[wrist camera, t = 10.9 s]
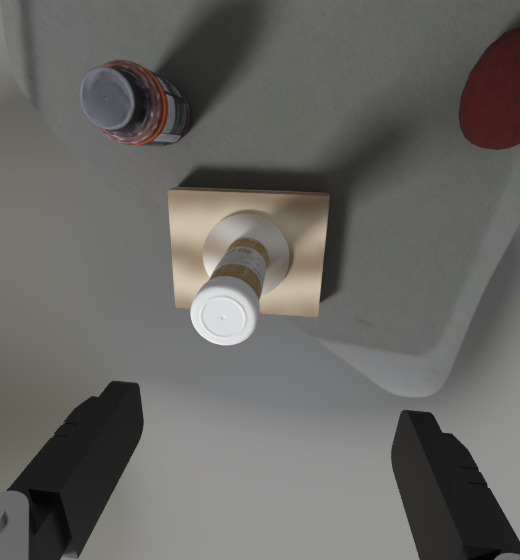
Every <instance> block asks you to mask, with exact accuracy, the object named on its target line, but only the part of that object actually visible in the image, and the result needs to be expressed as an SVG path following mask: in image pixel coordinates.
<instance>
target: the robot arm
mask: <svg viewBox="0 0 520 560" xmlns="http://www.w3.org/2000/svg"><path fill="white" fill-rule="evenodd" d="M143 423H144V420H143V412H142V404H141V395H140V388H139V385H138V384H137V383H133V382H122V381H112V382H110V383H109V385H108V386H107V387H106V388H105V389H104V391H103V392H102V393H101V395H100V396H99V397H95V396H92V397H90V398H89V399H87V400H86V401H85V402H83V403H82V404H80V405H79V406H77V407H76V408H75V409H74V410H73V411H72V413H71V414H70V415H69V416H68V417H67V419H66V420H65V421H64V422H63V425H61V426H60V427H59V428H58V429H57V431H56V432H55V433H54V434H53V438H50V439H49V440H48V442H47V443H46V444H45V445H44V446H43V448H42V449H41V450H40V451H39V453H38V454H37V455H36V456H35V457H34V458H33V460H32V461H31V462H30V463H29V465H28V466H27V467H26V468H25V469H24V471H23V472H22V473H21V474H20V476H19V477H18V478H17V479H16V480H15V481H14V483H13V484H12V485H11V486H10V487H9V488H8V489H7V491H4V492H0V560H60V559H61V557H70V558H77V559H78V558H79V556H80V554H81V552H82V550H83V548H84V546H85V544H86V542H87V540H88V539H89V537H90V535H91V533H92V531H93V529H94V527H95V525H96V523H97V521H98V519H99V517H100V515H101V514H102V512H103V510H104V508H105V506H106V504H107V502H108V500H109V498H110V496H111V494H112V492H113V490H114V488H115V487H116V485H117V483H118V481H119V479H120V477H121V475H122V473H123V471H124V469H125V467H126V466H127V464H128V462H129V460H130V458H131V456H132V454H133V452H134V450H135V448H136V446H137V444H138V442H139V440H140V438H141V435H142V431H143ZM391 461H392V468H393V472H394V475H395V479H396V482H397V485H398V489H399V492H400V495H401V499H402V502H403V505H404V508H405V512H406V515H407V519H408V522H409V525H410V529H411V532H412V535H413V538H414V542H415V545H416V548H417V552H418V555H419V559H420V560H520V541H519V539H518V538H517V536H516V534H515V532H514V531H513V529H512V527H511V525H510V523H509V522H508V520H507V518H506V516H505V514H504V513H503V511H502V509H501V507H500V506H499V504H498V502H497V500H496V498H495V497H494V495H493V493H492V491H491V490H490V488H488V487H487V483H486V481H485V479H484V478H483V475H482V474H481V472H479V470H478V467H477V465H476V463H475V461H474V460H473V458H472V456H471V454H470V452H469V451H468V449H466V447H465V446H464V445H463V444H461V442H460V441H458V440H457V439H456V437H455V436H453V434H449V433H442V431H441V429H440V427H439V425H438V423H437V421H436V419H435V417H434V416H433V414H432V413H430V412H421V411H411V410H403V411H402V412H401V414H400V418H399V421H398V426H397V429H396V433H395V437H394V441H393V445H392V451H391Z"/></svg>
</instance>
